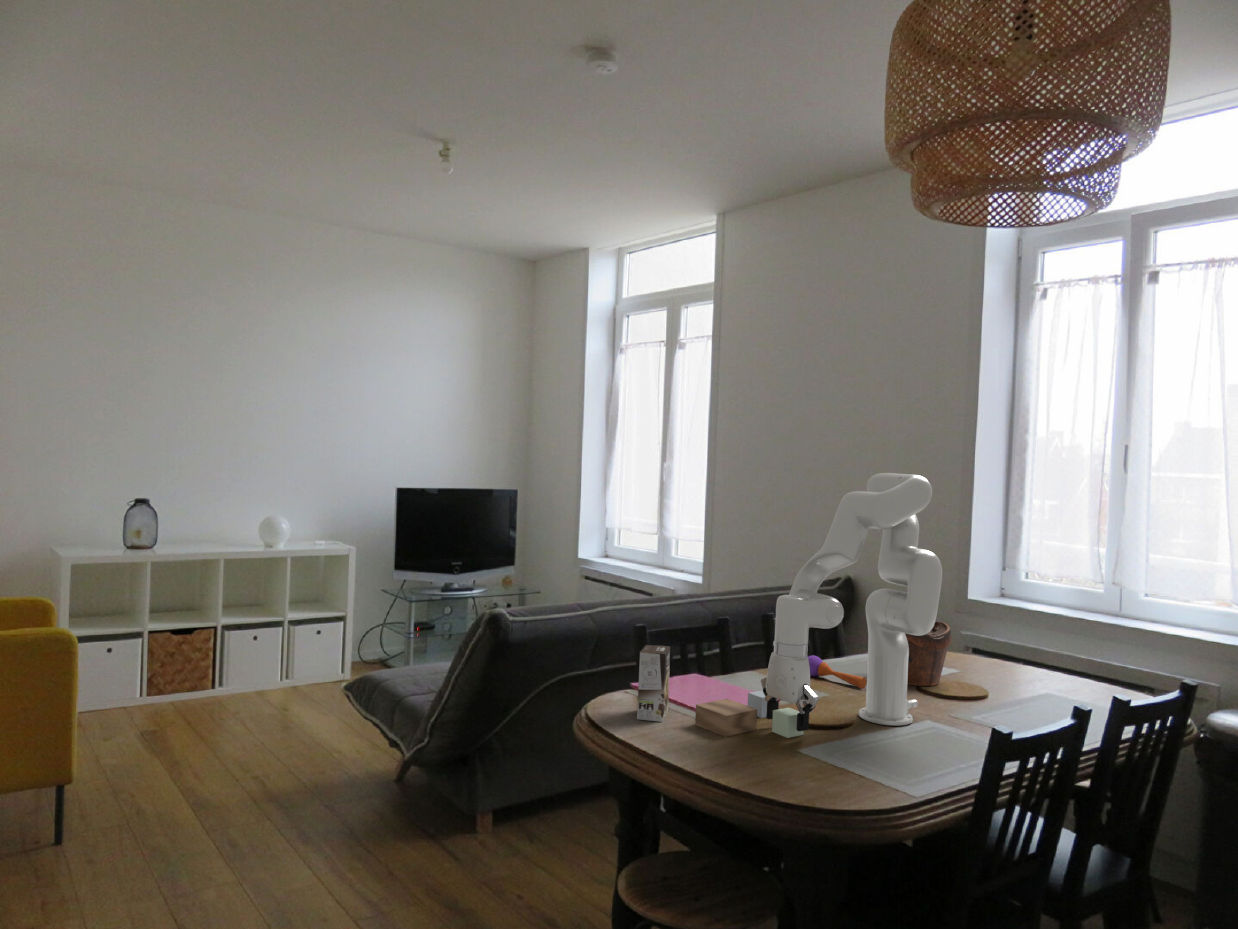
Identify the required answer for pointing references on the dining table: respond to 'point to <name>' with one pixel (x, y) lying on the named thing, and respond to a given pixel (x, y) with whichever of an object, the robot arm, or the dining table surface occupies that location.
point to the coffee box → (653, 683)
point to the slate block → (758, 703)
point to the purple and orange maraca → (833, 672)
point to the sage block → (785, 722)
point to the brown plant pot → (928, 655)
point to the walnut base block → (726, 717)
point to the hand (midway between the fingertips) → (786, 724)
